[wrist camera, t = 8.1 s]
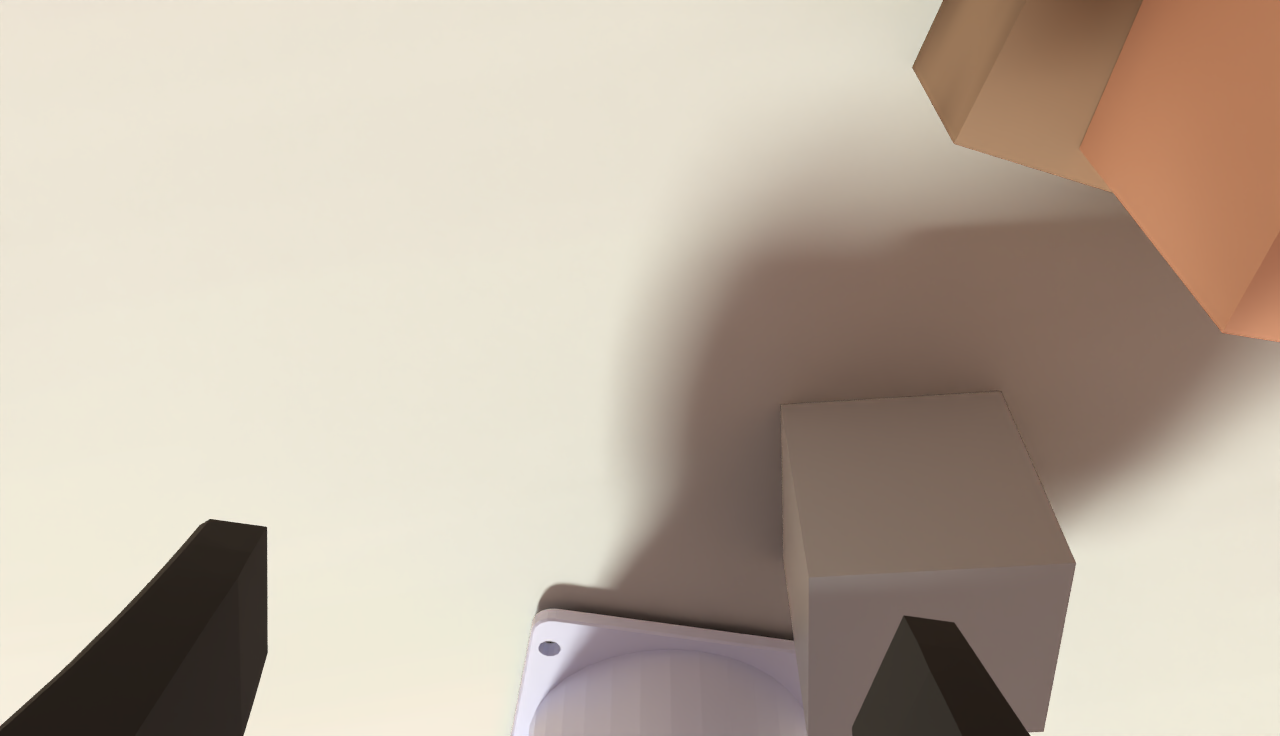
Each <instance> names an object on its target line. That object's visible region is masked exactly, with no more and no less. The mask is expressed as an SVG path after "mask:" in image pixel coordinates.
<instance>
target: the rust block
mask: <svg viewBox="0 0 1280 736" xmlns="http://www.w3.org/2000/svg"><path fill="white" fill-rule="evenodd" d="M1079 149H1080V151H1081V152H1082V153H1083V155H1084V156H1085V157H1086V158H1087V160H1088V161H1089V162H1090V164H1091V165H1092V166H1093V167H1094V169H1095V170H1096V171H1097V173H1098V174H1099V175H1100V176H1101V178H1102V179H1103V180H1104V182H1105V183H1106V184H1107V185H1108V187H1109V188H1110V189H1111V191H1112V192H1113V193H1114V194H1115V196H1116V197H1117V198H1118V200H1119V201H1120V202H1121V203H1122V205H1123V206H1124V207H1125V209H1126V210H1127V211H1128V212H1129V214H1130V215H1131V216H1132V218H1133V219H1134V220H1135V221H1136V223H1137V224H1138V225H1139V227H1140V228H1141V229H1142V230H1143V232H1144V233H1145V234H1146V236H1147V237H1148V238H1149V239H1150V241H1151V242H1152V243H1153V245H1154V246H1155V247H1156V248H1157V250H1158V251H1159V252H1160V254H1161V255H1162V256H1163V257H1164V259H1165V260H1166V261H1167V263H1168V264H1169V265H1170V266H1171V268H1172V269H1173V270H1174V272H1175V273H1176V274H1177V275H1178V277H1179V278H1180V279H1181V281H1182V282H1183V283H1184V284H1185V286H1186V287H1187V288H1188V290H1189V291H1190V292H1191V293H1192V295H1193V296H1194V297H1195V299H1196V300H1197V301H1198V302H1199V304H1200V305H1201V306H1202V308H1203V309H1204V310H1205V311H1206V313H1207V314H1208V315H1209V317H1210V318H1211V319H1212V320H1213V322H1214V323H1215V324H1216V326H1217V327H1218V328H1219V329H1220V331H1221V332H1222V333H1226V334H1232V335H1238V336H1245V337H1251V338H1257V339H1263V340H1270V341H1276V342H1280V0H1143V1H1142V4H1141V6H1140V8H1139V11H1138V13H1137V15H1136V18H1135V20H1134V22H1133V25H1132V27H1131V29H1130V32H1129V34H1128V36H1127V39H1126V41H1125V43H1124V46H1123V48H1122V50H1121V52H1120V55H1119V57H1118V59H1117V62H1116V64H1115V66H1114V69H1113V71H1112V73H1111V76H1110V78H1109V80H1108V83H1107V85H1106V87H1105V90H1104V92H1103V94H1102V97H1101V99H1100V101H1099V104H1098V106H1097V108H1096V111H1095V113H1094V115H1093V118H1092V120H1091V122H1090V125H1089V127H1088V129H1087V132H1086V134H1085V136H1084V139H1083V141H1082V143H1081V146H1080V148H1079Z"/></svg>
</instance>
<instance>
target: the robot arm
mask: <svg viewBox="0 0 1280 736" xmlns="http://www.w3.org/2000/svg"><path fill="white" fill-rule="evenodd" d="M545 641H553V642H556V643H547V642H545ZM267 653H268V645H267V527H264V526H257V525H249V524H242V523H235V522H228V521H220V520H213V519H209V520H208V521H206V522H204V523H203V524H201V525H200V526H199V527H198V528H197V529H196V530H195V531H194V533H193V534H192V535H191V536H190V537H189V538H188V540H187V541H186V542H185V543H184V544H183V545H182V547H181V548H180V549H179V550H178V551H177V552H176V553H175V554H174V556H173V557H172V558H171V559H170V560H169V561H168V562H167V563H166V565H165V566H164V567H163V568H162V569H161V570H160V571H159V572H158V573H157V574H156V576H155V577H154V578H153V579H152V580H151V581H150V582H149V583H148V584H147V585H146V586H145V587H144V588H143V590H142V591H141V592H140V593H139V594H138V595H137V596H136V597H135V598H134V599H133V600H132V601H131V602H130V603H129V604H128V605H127V606H126V607H125V608H124V610H123V611H122V612H121V613H120V614H119V615H118V616H117V617H116V618H115V619H114V620H113V621H112V622H111V623H110V624H109V625H108V626H107V627H106V628H105V629H104V630H103V631H102V632H101V633H100V634H99V635H98V636H96V637H95V638H94V639H93V640H92V641H91V642H90V643H89V644H88V645H87V646H86V647H85V648H84V649H83V650H82V651H81V652H80V653H79V654H78V655H77V656H76V657H75V658H74V659H73V660H72V661H71V662H70V663H69V664H68V665H67V666H66V667H65V668H64V669H63V670H62V671H61V672H60V673H59V674H58V675H56V676H55V677H54V678H53V679H52V680H51V681H50V682H49V683H48V684H47V685H45V686H44V687H43V688H42V689H41V690H40V691H39V692H38V693H37V694H35V695H34V696H33V697H32V698H31V699H30V700H29V701H28V702H26V703H25V704H24V705H23V706H22V707H21V708H20V709H19V710H18V711H16V712H15V713H14V714H13V715H12V716H11V717H10V718H9V719H8V720H6V721H5V722H4V723H3V724H2V725H1V726H0V736H243V735H244V732H245V729H246V725H247V722H248V719H249V715H250V712H251V709H252V705H253V702H254V699H255V695H256V692H257V688H258V685H259V681H260V678H261V674H262V670H263V667H264V663H265V660H266V656H267ZM511 736H807V731H806V724H805V716H804V709H803V702H802V694H801V687H800V680H799V673H798V665H797V658H796V651H795V644H794V641H792V640H785V639H778V638H770V637H763V636H755V635H748V634H741V633H733V632H726V631H718V630H711V629H704V628H696V627H689V626H681V625H674V624H667V623H659V622H652V621H645V620H637V619H630V618H622V617H615V616H608V615H600V614H593V613H585V612H578V611H571V610H563V609H546V610H542V611H540V612H539V613H537V614H536V615H535V617H534V619H533V621H532V626H531V632H530V637H529V642H528V647H527V653H526V658H525V663H524V668H523V674H522V679H521V684H520V689H519V695H518V700H517V705H516V710H515V715H514V721H513V726H512V731H511ZM852 736H1030V735H1029V733H1028V732H1027V730H1026V729H1025V727H1024V726H1023V724H1022V723H1021V721H1020V720H1019V718H1018V717H1017V715H1016V714H1015V712H1014V711H1013V709H1012V708H1011V706H1010V705H1009V703H1008V702H1007V700H1006V699H1005V697H1004V696H1003V694H1002V693H1001V691H1000V690H999V688H998V687H997V685H996V684H995V682H994V681H993V679H992V678H991V676H990V675H989V673H988V672H987V670H986V669H985V667H984V666H983V664H982V663H981V661H980V660H979V658H978V657H977V655H976V654H975V652H974V651H973V649H972V648H971V646H970V645H969V643H968V642H967V640H966V639H965V637H964V636H963V634H962V633H961V631H960V630H959V628H958V627H957V625H956V624H955V622H948V621H941V620H934V619H927V618H920V617H912V616H905V615H903V618H902V620H901V622H900V624H899V626H898V628H897V631H896V633H895V635H894V637H893V639H892V641H891V644H890V646H889V648H888V650H887V652H886V654H885V657H884V659H883V661H882V663H881V665H880V667H879V670H878V672H877V674H876V676H875V678H874V680H873V683H872V685H871V687H870V689H869V691H868V693H867V696H866V698H865V700H864V702H863V704H862V706H861V709H860V711H859V713H858V715H857V717H856V719H855V722H854V724H853V726H852Z"/></svg>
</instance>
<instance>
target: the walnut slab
mask: <svg viewBox="0 0 1280 736" xmlns="http://www.w3.org/2000/svg"><path fill="white" fill-rule="evenodd" d="M1142 1H1143V0H943V2H942V4H941V6H940V8H939V11H938V13H937V15H936V17H935V19H934V21H933V24H932V26H931V28H930V30H929V32H928V34H927V36H926V39H925V41H924V43H923V45H922V47H921V49H920V52H919V54H918V56H917V58H916V60H915V62H914V65H913V67H912V68H913V70H914V72H915V73H916V75H917V77H918V79H919V81H920V83H921V84H922V86H923V88H924V90H925V92H926V94H927V95H928V97H929V99H930V101H931V103H932V105H933V106H934V108H935V110H936V112H937V114H938V115H939V117H940V119H941V121H942V123H943V125H944V126H945V128H946V130H947V132H948V134H949V136H950V137H951V139H952V141H953V143H954V144H956V145H960V146H963V147H966V148H969V149H973V150H976V151H979V152H982V153H986V154H989V155H992V156H995V157H998V158H1002V159H1005V160H1008V161H1011V162H1015V163H1018V164H1021V165H1024V166H1028V167H1031V168H1034V169H1037V170H1040V171H1044V172H1047V173H1050V174H1053V175H1057V176H1060V177H1063V178H1066V179H1070V180H1073V181H1076V182H1079V183H1082V184H1086V185H1089V186H1092V187H1095V188H1099V189H1102V190H1105V191H1108V192H1112V191H1111V189H1110V188H1109V187H1108V185H1107V184H1106V183H1105V182H1104V180H1103V179H1102V178H1101V176H1100V175H1099V174H1098V173H1097V171H1096V170H1095V169H1094V167H1093V166H1092V165H1091V164H1090V162H1089V161H1088V160H1087V158H1086V157H1085V156H1084V155H1083V153H1082V152H1081V151H1080V149H1079V148H1080V146H1081V143H1082V141H1083V139H1084V136H1085V134H1086V132H1087V129H1088V127H1089V125H1090V122H1091V120H1092V118H1093V115H1094V113H1095V111H1096V108H1097V106H1098V104H1099V101H1100V99H1101V97H1102V94H1103V92H1104V90H1105V87H1106V85H1107V83H1108V80H1109V78H1110V76H1111V73H1112V71H1113V69H1114V66H1115V64H1116V62H1117V59H1118V57H1119V55H1120V52H1121V50H1122V48H1123V46H1124V43H1125V41H1126V39H1127V36H1128V34H1129V32H1130V29H1131V27H1132V25H1133V22H1134V20H1135V18H1136V15H1137V13H1138V11H1139V8H1140V6H1141V4H1142ZM1112 193H1113V192H1112Z"/></svg>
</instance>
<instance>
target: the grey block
mask: <svg viewBox="0 0 1280 736" xmlns="http://www.w3.org/2000/svg"><path fill="white" fill-rule="evenodd" d="M781 448H782V515H783V563H784V571H785V578H786V585H787V593H788V600H789V607H790V614H791V622H792V629H793V636H794V644H795V651H796V658H797V665H798V673H799V680H800V687H801V694H802V702H803V709H804V716H805V724H806V731H807V736H852V726H853V724H854V722H855V719H856V717H857V715H858V713H859V711H860V709H861V706H862V704H863V702H864V700H865V698H866V696H867V693H868V691H869V689H870V687H871V685H872V683H873V680H874V678H875V676H876V674H877V672H878V670H879V667H880V665H881V663H882V661H883V659H884V657H885V654H886V652H887V650H888V648H889V646H890V644H891V641H892V639H893V637H894V635H895V633H896V631H897V628H898V626H899V624H900V622H901V620H902V618H903V615H905V616H912V617H920V618H927V619H934V620H941V621H948V622H955V624H956V625H957V627H958V628H959V630H960V631H961V633H962V634H963V636H964V637H965V639H966V640H967V642H968V643H969V645H970V646H971V648H972V649H973V651H974V652H975V654H976V655H977V657H978V658H979V660H980V661H981V663H982V664H983V666H984V667H985V669H986V670H987V672H988V673H989V675H990V676H991V678H992V679H993V681H994V682H995V684H996V685H997V687H998V688H999V690H1000V691H1001V693H1002V694H1003V696H1004V697H1005V699H1006V700H1007V702H1008V703H1009V705H1010V706H1011V708H1012V709H1013V711H1014V712H1015V714H1016V715H1017V717H1018V718H1019V720H1020V721H1021V723H1022V724H1023V726H1024V727H1025V729H1026V730H1027V732H1044V727H1045V722H1046V716H1047V711H1048V706H1049V701H1050V696H1051V690H1052V685H1053V680H1054V675H1055V670H1056V664H1057V659H1058V654H1059V649H1060V644H1061V638H1062V633H1063V628H1064V623H1065V617H1066V612H1067V607H1068V602H1069V597H1070V591H1071V586H1072V581H1073V576H1074V571H1075V565H1076V562H1075V560H1074V557H1073V555H1072V553H1071V551H1070V548H1069V546H1068V544H1067V541H1066V539H1065V537H1064V534H1063V532H1062V530H1061V528H1060V525H1059V523H1058V521H1057V518H1056V516H1055V514H1054V512H1053V509H1052V507H1051V505H1050V502H1049V500H1048V498H1047V496H1046V493H1045V491H1044V489H1043V486H1042V484H1041V482H1040V479H1039V477H1038V475H1037V473H1036V470H1035V468H1034V466H1033V463H1032V461H1031V459H1030V457H1029V454H1028V452H1027V450H1026V447H1025V445H1024V443H1023V441H1022V438H1021V436H1020V434H1019V431H1018V429H1017V427H1016V424H1015V422H1014V420H1013V418H1012V415H1011V413H1010V411H1009V408H1008V406H1007V404H1006V402H1005V399H1004V397H1003V395H1002V392H1001V391H991V392H975V393H959V394H943V395H926V396H910V397H894V398H878V399H862V400H846V401H830V402H813V403H797V404H781Z"/></svg>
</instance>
